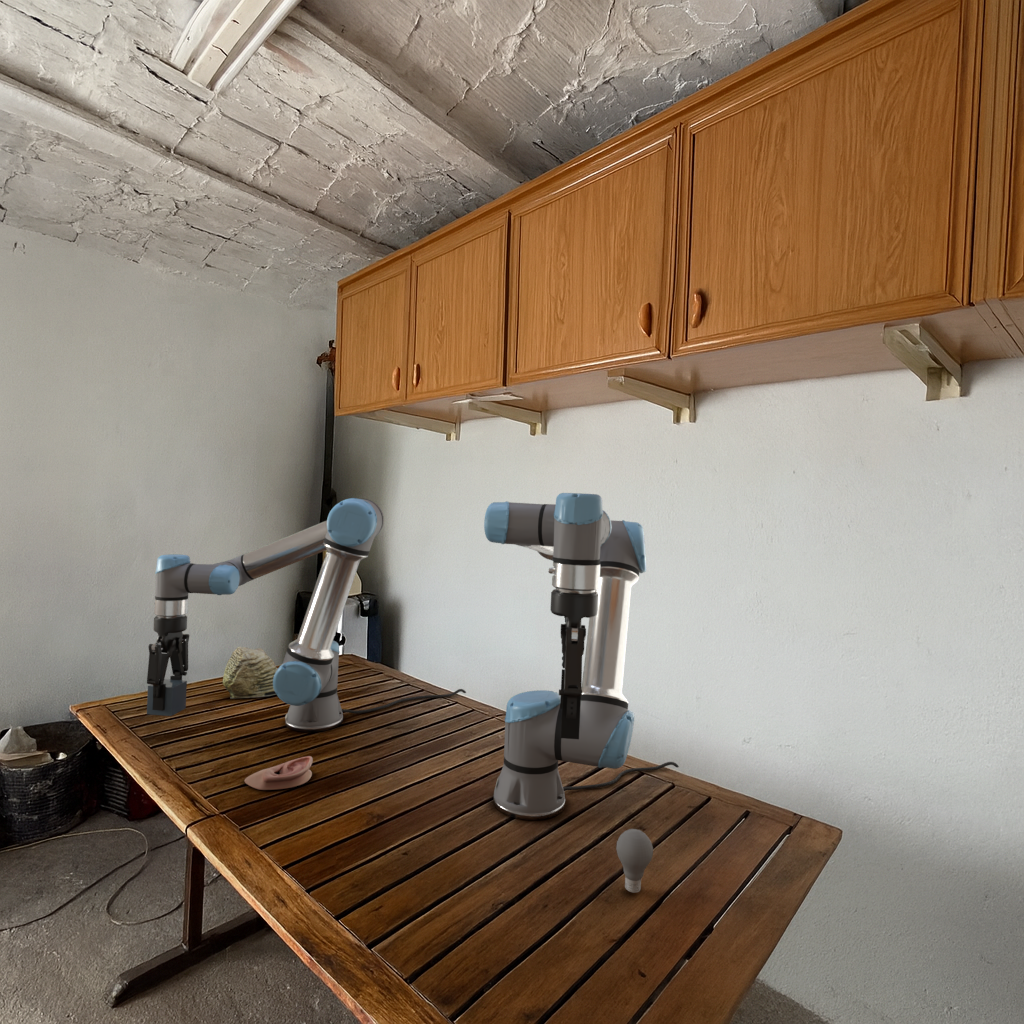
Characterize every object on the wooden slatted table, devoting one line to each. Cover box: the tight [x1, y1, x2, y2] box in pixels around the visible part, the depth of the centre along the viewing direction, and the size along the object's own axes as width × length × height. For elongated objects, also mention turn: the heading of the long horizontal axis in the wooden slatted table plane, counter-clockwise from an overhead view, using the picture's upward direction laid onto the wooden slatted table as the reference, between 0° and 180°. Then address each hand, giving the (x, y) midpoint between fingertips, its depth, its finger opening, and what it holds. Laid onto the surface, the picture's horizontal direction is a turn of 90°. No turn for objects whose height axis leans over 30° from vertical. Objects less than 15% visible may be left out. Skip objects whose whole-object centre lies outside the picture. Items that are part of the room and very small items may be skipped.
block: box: [146, 678, 188, 717], centre depth 162 cm, size 6×6×7 cm
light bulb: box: [615, 828, 654, 894], centre depth 106 cm, size 6×6×10 cm
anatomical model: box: [244, 755, 314, 791], centre depth 141 cm, size 13×4×12 cm
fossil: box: [222, 646, 279, 699], centre depth 198 cm, size 9×18×15 cm, turn 132°
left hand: (167, 705), depth 162 cm, fingers closed on block, 6 cm apart
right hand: (568, 722), depth 101 cm, fingers open, 13 cm apart
